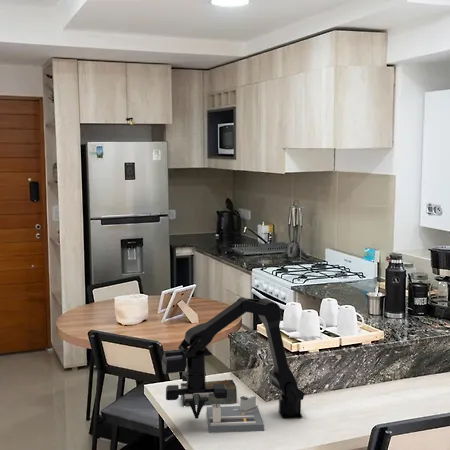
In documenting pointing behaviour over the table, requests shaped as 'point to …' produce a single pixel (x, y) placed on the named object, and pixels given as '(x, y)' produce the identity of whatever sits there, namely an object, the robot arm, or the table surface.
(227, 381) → the weathered grey box
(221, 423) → the console board
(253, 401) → the grey rectangular block
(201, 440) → the table surface
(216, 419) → the fader tab
